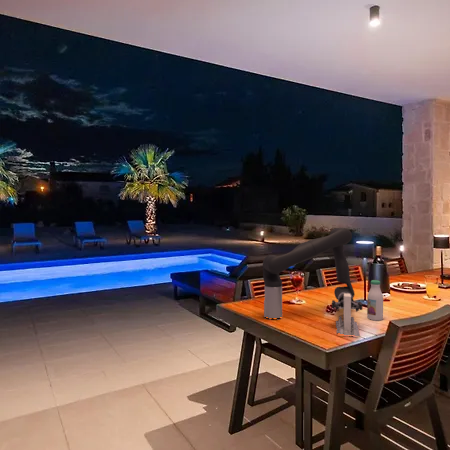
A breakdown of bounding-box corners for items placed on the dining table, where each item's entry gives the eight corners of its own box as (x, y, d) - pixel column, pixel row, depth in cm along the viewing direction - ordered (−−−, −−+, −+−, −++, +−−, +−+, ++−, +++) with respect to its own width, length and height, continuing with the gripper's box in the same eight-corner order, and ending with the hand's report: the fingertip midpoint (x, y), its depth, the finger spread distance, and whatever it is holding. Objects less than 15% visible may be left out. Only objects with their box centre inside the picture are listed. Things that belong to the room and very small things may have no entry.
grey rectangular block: (344, 329, 189) (344, 296, 188) (343, 325, 195) (343, 293, 194) (350, 330, 189) (351, 296, 188) (349, 326, 195) (350, 293, 193)
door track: (337, 336, 184) (337, 328, 183) (335, 322, 203) (335, 316, 203) (360, 337, 181) (360, 330, 181) (356, 324, 201) (356, 317, 200)
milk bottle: (379, 316, 213) (379, 279, 211) (385, 320, 205) (386, 282, 204) (364, 316, 212) (365, 279, 211) (370, 321, 205) (371, 282, 203)
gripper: (331, 292, 207) (332, 300, 191) (360, 293, 204) (363, 302, 188) (331, 306, 208) (331, 316, 192) (360, 308, 204) (363, 317, 189)
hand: (347, 309), depth 190 cm, fingers open, 8 cm apart
